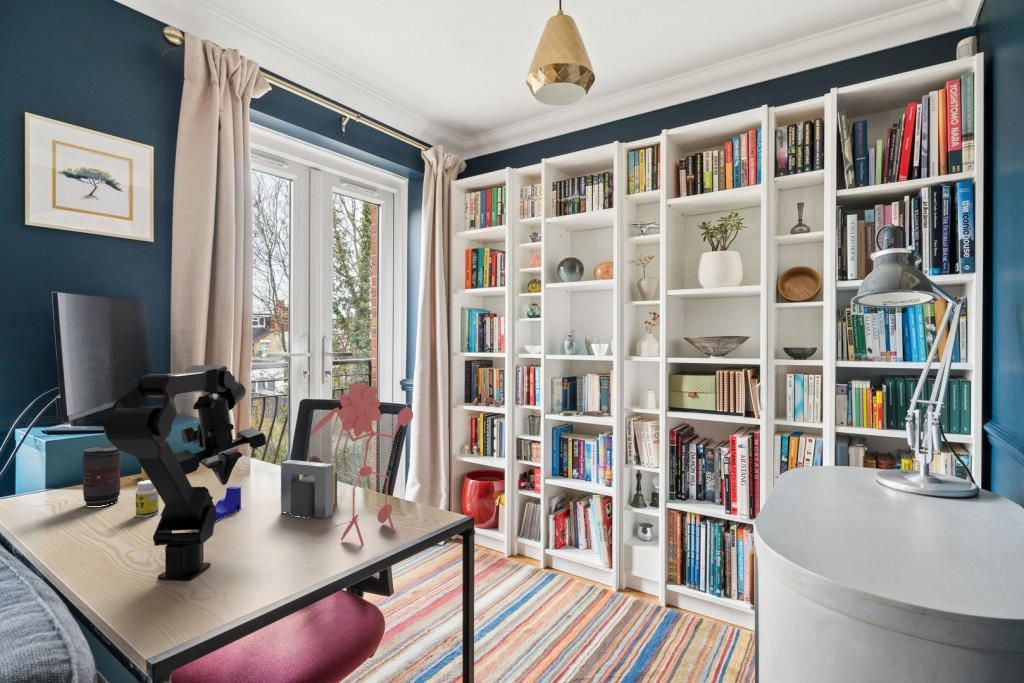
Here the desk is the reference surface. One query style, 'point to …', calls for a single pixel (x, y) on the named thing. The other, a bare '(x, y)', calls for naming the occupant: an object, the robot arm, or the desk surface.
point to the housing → (322, 485)
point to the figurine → (359, 416)
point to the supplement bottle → (146, 499)
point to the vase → (313, 459)
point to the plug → (307, 496)
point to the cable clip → (229, 502)
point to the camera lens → (101, 475)
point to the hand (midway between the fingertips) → (223, 483)
